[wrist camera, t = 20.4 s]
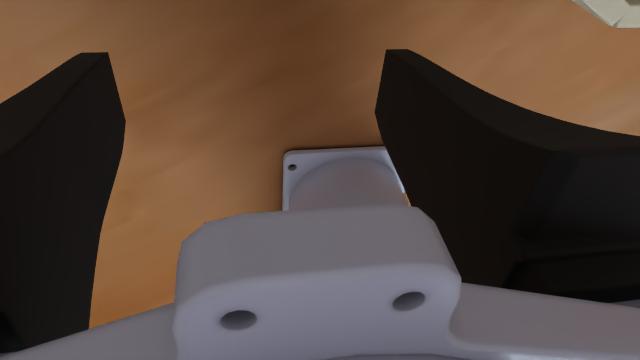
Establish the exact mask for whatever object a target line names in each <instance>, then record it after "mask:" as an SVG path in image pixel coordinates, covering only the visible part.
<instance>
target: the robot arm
mask: <svg viewBox="0 0 640 360" xmlns="http://www.w3.org/2000/svg"><path fill="white" fill-rule="evenodd" d="M375 115H376V119H377V123H378V127H379V131H380V134H381V138H382V141H383V143H384V145H385V146H377V147H357V148H336V149H315V150H295V151H288V152H287V153H285V155H284V157H283V194H282V211H272V212H258V213H244V214H238V215H234V216H230V217H226V218H222V219H218V220H214V221H210V222H207V223H205V224H203V225H202V226H201V227H200V228H198V229H197V230H196V231H195V232H194V233H192V234H191V235H190V236H189V237H187V238H186V239H185V240H184V241H182V244H181V248H180V253H179V258H178V262H177V272H176V285H175V298H174V302H173V303H170V304H167V305H164V306H161V307H158V308H154V309H151V310H148V311H145V312H142V313H139V314H135V315H132V316H129V317H126V318H123V319H120V320H116V321H113V322H110V323H107V324H104V325H101V326H97V327H94V328H91V329H89V320H90V309H91V299H92V290H93V282H94V274H95V266H96V259H97V252H98V245H99V239H100V232H101V228H102V224H103V219H104V215H105V212H106V208H107V205H108V201H109V198H110V194H111V191H112V188H113V184H114V181H115V177H116V174H117V170H118V166H119V163H120V159H121V155H122V151H123V143H124V133H125V123H126V121H125V117H124V113H123V109H122V105H121V101H120V97H119V93H118V90H117V86H116V82H115V78H114V74H113V70H112V66H111V62H110V59H109V55H108V52H101V53H80V54H78V55H76V56H74V57H72V58H71V59H69V60H68V61H66V62H65V63H63V64H62V65H60V66H59V67H57V68H56V69H54V70H53V71H51V72H50V73H48V74H47V75H45V76H44V77H42V78H41V79H39V80H38V81H36V82H35V83H33V84H32V85H30V86H29V87H27V88H25V89H24V90H22V91H20V92H19V93H17V94H16V95H14V96H12V97H11V98H9V99H7V100H6V101H4V102H2V103H1V104H0V360H640V136H634V135H628V134H622V133H615V132H609V131H604V130H600V129H595V128H591V127H587V126H582V125H578V124H574V123H570V122H567V121H563V120H559V119H556V118H553V117H550V116H546V115H543V114H540V113H537V112H534V111H531V110H528V109H525V108H523V107H520V106H518V105H515V104H513V103H510V102H508V101H505V100H503V99H500V98H498V97H496V96H494V95H492V94H490V93H488V92H486V91H484V90H482V89H480V88H478V87H476V86H474V85H472V84H470V83H468V82H466V81H464V80H463V79H461V78H459V77H457V76H455V75H454V74H452V73H450V72H449V71H447V70H445V69H443V68H442V67H440V66H438V65H437V64H435V63H433V62H431V61H430V60H428V59H426V58H424V57H423V56H421V55H419V54H417V53H415V52H413V51H410V50H408V49H391V50H386V53H385V58H384V64H383V69H382V75H381V81H380V86H379V92H378V97H377V103H376V108H375ZM291 164H295V165H294V166H292V167H290V166H289V165H291ZM404 191H405V192H406V194H407V196H408V198H409V201H410V203H411V206H412V207H411V206H408V203H407V201H406V199H405V197H404Z"/></svg>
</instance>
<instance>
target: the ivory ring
mask: <svg viewBox="0 0 640 360" xmlns="http://www.w3.org/2000/svg"><path fill="white" fill-rule="evenodd" d="M571 1H573V2H574V3H576V4H577V5H579V6H580V7H582V8H583V9H585V10H586V11H588V12H589V13H591V14H592V15H594V16H595V17H597V18H598V19H600V20H601V21H603V22H604V23H606V24H607V25H609V26H614V27H615V28H633V27H640V0H571Z"/></svg>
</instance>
